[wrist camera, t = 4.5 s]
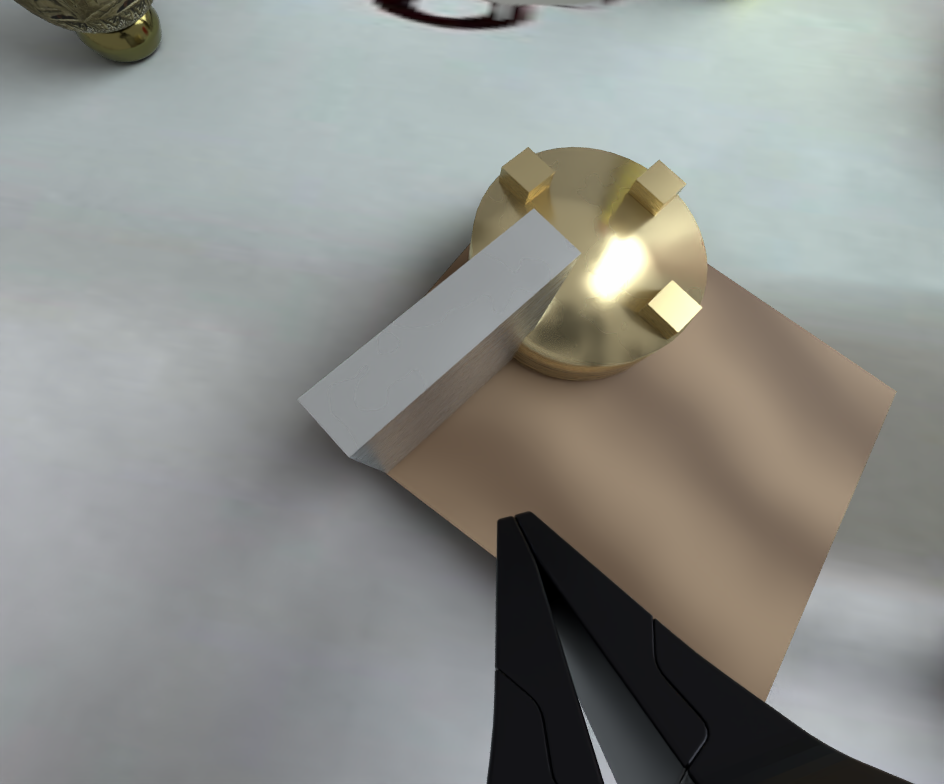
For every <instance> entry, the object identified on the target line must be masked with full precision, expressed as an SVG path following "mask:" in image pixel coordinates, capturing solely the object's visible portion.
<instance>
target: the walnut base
mask: <svg viewBox="0 0 944 784" xmlns="http://www.w3.org/2000/svg"><path fill="white" fill-rule="evenodd" d="M470 244H471V243H470ZM470 244H469V245H468V246H467V248H466V249H465V250H464V251H463V252H462V253H461V255H460V256H459V257H458V258H457V259H456V260H455V261H454V263H453V264H452V265H451V266H450V267H449V268H448V270H447V271H446V272H445V273H444V274H443V275H442V276H441V278H440V279H439V280H438V281H437V282H436V283H435V285H434V286H433V287H432V288H431V289H430V290H429V291H428V293H429V292H431V291H432V290H433V289H434V288H436V287H437V286H438V285H439V284H441V283H442V282H443V281H444V280H446V279H447V278H448V277H449V276H450V275H452V274H453V273H454V272H455V271H457V270H458V269H459V268H460V267H462V266H463V265H464V264H465V263H467V262H468V257H469V250H470ZM428 293H427V294H428ZM427 294H426V295H427ZM426 295H425V296H426ZM700 306H701V307H702V309H701V310H700V311H699V312H698V313H697V314H696V315H695V316H694V318H693V319H692V321H691V322H690V323H689V325H688V326H687V327H686V328H685V330H684V331H683V332H682V333H681V334H680V335H679V336H677V337H676V338H675V339H674V340H673V341H672V342H670V343H669V344H667V345H666V346H664V347H662V348H661V349H659V350H658V351H656V352H655V353H653V354H651V355H650V356H648V357H647V358H645V359H643V360H642V361H640V362H639V363H637V364H636V365H634V366H632V367H631V368H629V369H627V370H625V371H623V372H621V373H619V374H616V375H613V376H610V377H607V378H603V379H597V380H590V381H572V380H563V379H558V378H554V377H550V376H546V375H543V374H541V373H538V372H535V371H533V370H531V369H529V368H527V367H525V366H523V365H522V364H520V363H518V362H517V361H515V360H514V359H512V360H511V361H509V362H508V363H507V364H506V365H505V366H504V367H503V368H502V369H501V370H500V371H499V372H497V373H496V374H495V375H494V376H493V377H492V378H491V379H490V380H489V381H488V382H487V383H485V384H484V385H483V386H482V387H481V388H480V389H479V390H478V391H477V392H476V393H475V394H473V395H472V396H471V397H470V398H469V399H468V400H467V401H466V402H465V403H464V404H463V405H461V406H460V407H459V408H458V409H457V410H456V411H455V412H454V413H453V414H452V415H451V416H449V417H448V418H447V419H446V420H445V421H444V422H443V423H442V424H441V425H440V426H439V427H437V428H436V429H435V430H434V431H433V432H432V433H431V434H430V435H429V436H428V437H427V438H425V439H424V440H423V441H422V442H421V443H420V444H419V445H418V446H417V447H416V448H415V449H413V450H412V451H411V452H410V453H409V454H408V455H407V456H406V457H405V458H404V459H403V460H401V461H400V462H399V463H398V464H397V465H396V466H395V467H394V468H393V469H392V470H391V471H389V472H388V473H386V474H387V475H389V476H390V477H391V478H393V479H394V480H395V481H396V482H398V483H399V484H400V485H402V486H403V487H404V488H406V489H407V490H408V491H410V492H411V493H412V494H413V495H415V496H416V497H417V498H419V499H420V500H421V501H423V502H424V503H425V504H426V505H428V506H429V507H430V508H432V509H433V510H434V511H436V512H437V513H438V514H440V515H441V516H442V517H443V518H445V519H446V520H447V521H449V522H450V523H451V524H453V525H454V526H455V527H456V528H458V529H459V530H460V531H462V532H463V533H464V534H466V535H467V536H468V537H470V538H471V539H472V540H473V541H475V542H476V543H477V544H479V545H480V546H481V547H483V548H484V549H485V550H487V551H488V552H489V553H490V554H492V555H493V556H494V557H496V558H497V521H498V519H500V518H504V517H508V516H513V517H514V516H515V515H516V514H519V513H523V512H527V511H530V512H533V513H534V514H535V515H536V516H537V517H539V518H540V519H541V520H542V521H543V522H544V523H546V524H547V525H548V526H549V527H550V528H551V529H552V530H554V531H555V532H556V533H557V534H558V535H559V536H561V537H562V538H563V539H564V540H565V541H566V542H568V543H569V544H570V545H571V546H572V547H573V548H575V549H576V550H577V551H578V552H579V553H580V554H582V555H583V556H584V557H585V558H586V559H587V560H589V561H590V562H591V563H592V564H593V565H594V566H596V567H597V568H598V569H599V570H600V571H601V572H603V573H604V574H605V575H606V576H607V577H608V578H610V579H611V580H612V581H613V582H614V583H615V584H616V585H618V586H619V587H620V588H621V589H622V590H623V591H625V592H626V593H627V594H628V595H629V596H630V597H632V598H633V599H634V600H635V601H636V602H637V603H639V604H640V605H641V606H642V607H643V608H644V609H646V610H647V611H648V612H649V613H650V614H651V615H652V616H653V619H654V618H656V619H657V620H659V621H660V622H661V623H662V624H663V625H664V626H666V627H667V628H668V629H669V630H670V631H671V632H672V633H674V634H675V635H676V636H677V637H679V638H680V639H681V640H682V641H683V642H685V643H686V644H687V645H688V646H690V647H691V648H692V649H693V650H694V651H696V652H697V653H698V654H700V655H701V656H702V657H704V658H705V659H706V660H708V661H709V662H710V663H712V664H713V665H714V666H716V667H717V668H718V669H720V670H721V671H722V672H724V673H725V674H726V675H728V676H729V677H730V678H732V679H733V680H735V681H736V682H737V683H739V684H740V685H742V686H743V687H744V688H746V689H747V690H749V691H750V692H751V693H753V694H754V695H756V696H757V697H758V698H760V699H761V700H762V701H764V702H765V701H766V698H767V696H768V694H769V691H770V689H771V687H772V684H773V682H774V679H775V677H776V675H777V672H778V670H779V668H780V665H781V663H782V661H783V658H784V656H785V654H786V651H787V649H788V646H789V644H790V642H791V639H792V637H793V635H794V632H795V630H796V628H797V625H798V623H799V621H800V618H801V616H802V613H803V611H804V609H805V606H806V604H807V602H808V599H809V597H810V595H811V592H812V590H813V587H814V585H815V583H816V580H817V578H818V576H819V573H820V571H821V569H822V566H823V564H824V562H825V559H826V557H827V554H828V552H829V550H830V547H831V545H832V543H833V540H834V538H835V536H836V533H837V531H838V529H839V526H840V524H841V521H842V519H843V517H844V514H845V512H846V510H847V507H848V505H849V503H850V500H851V498H852V496H853V493H854V491H855V488H856V486H857V484H858V481H859V479H860V477H861V474H862V472H863V470H864V467H865V465H866V463H867V460H868V458H869V455H870V453H871V451H872V448H873V446H874V444H875V441H876V439H877V437H878V434H879V432H880V430H881V427H882V425H883V422H884V420H885V418H886V415H887V413H888V411H889V408H890V406H891V404H892V401H893V399H894V397H895V394H896V392H897V391H895V390H894V389H892V388H891V387H889V386H888V385H886V384H885V383H883V382H882V381H880V380H879V379H877V378H876V377H874V376H873V375H871V374H870V373H868V372H867V371H865V370H864V369H863V368H861V367H860V366H858V365H857V364H855V363H854V362H852V361H851V360H849V359H848V358H846V357H845V356H843V355H842V354H840V353H839V352H837V351H836V350H834V349H833V348H831V347H830V346H828V345H827V344H826V343H824V342H823V341H821V340H820V339H818V338H817V337H815V336H814V335H812V334H811V333H809V332H808V331H806V330H805V329H803V328H802V327H800V326H799V325H797V324H796V323H794V322H793V321H791V320H790V319H789V318H787V317H786V316H784V315H783V314H781V313H780V312H778V311H777V310H775V309H774V308H772V307H771V306H769V305H768V304H766V303H765V302H763V301H762V300H760V299H759V298H757V297H756V296H754V295H753V294H752V293H750V292H749V291H747V290H746V289H744V288H743V287H741V286H740V285H738V284H737V283H735V282H734V281H732V280H731V279H729V278H728V277H726V276H725V275H723V274H722V273H720V272H719V271H717V270H716V269H715V268H713V267H712V266H710V265H709V264H707V283H706V288H705V292H704V296H703V299H702V301H701V304H700Z"/></svg>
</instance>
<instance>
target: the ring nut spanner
mask: <svg viewBox="0 0 944 784" xmlns="http://www.w3.org/2000/svg"><path fill="white" fill-rule="evenodd" d="M685 185H686V183H685V182H684V181H683V180H681V179H680V178H679V177H678V176H677V175H676V174H675V173H674V172H672V171H671V170H670V169H669V168H668V167H667V166H666V165H664V164H663V163H662V162H661V161H660V160H658V161H657V162H656V163H655V164H654V165H652V166H651V167H650V168H649V169H647V168H645V167H643V166H642V165H640V164H638V163H636V162H634V161H632V160H630V159H628V158H625V157H622V156H620V155H617V154H614V153H611V152H607V151H603V150H598V149H591V148H581V147H567V148H556V149H551V150H546V151H542V152H539V153H536V154H535V153H534V152H533V151H532V150H531V149H530V148H529V147H528V148H526V149H525V150H524V151H522V152H521V153H520V154H518V155H517V156H516V157H514V158H513V159H512V160H510V161H509V162H508V163H506V164H505V165H504V166H502V168H501V173H500V175H499V176H498V177H497V178H496V180H495V181H494V182H493V183H492V184H491V186H490V187H489V188H488V190H487V191H486V193H485V195H484V196H483V198H482V200H481V202H480V205H479V207H478V209H477V212H476V216H475V220H474V224H473V231H472V237H471V244H470V250H469V257H468V262H467V263H465V264H464V265H463V266H462V267H460V268H459V269H458V270H457V271H455V272H454V273H453V274H452V275H450V276H449V277H448V278H447V279H446V280H444V281H443V282H442V283H441V284H439V285H438V286H437V287H436V288H434V289H433V290H432V291H431V292H429V293H428V294H427V295H426V296H424V297H423V298H422V299H421V300H419V301H418V302H417V303H416V304H415V305H413V306H412V307H411V308H410V309H408V310H407V311H406V312H405V313H403V314H402V315H401V316H400V317H398V318H397V319H396V320H395V321H393V322H392V323H391V324H390V325H388V326H387V327H386V328H385V329H383V330H382V331H381V332H380V333H379V334H377V335H376V336H375V337H374V338H372V339H371V340H370V341H369V342H367V343H366V344H365V345H364V346H362V347H361V348H360V349H359V350H357V351H356V352H355V353H354V354H352V355H351V356H350V357H349V358H348V359H346V360H345V361H344V362H343V363H341V364H340V365H339V366H338V367H336V368H335V369H334V370H333V371H331V372H330V373H329V374H328V375H326V376H325V377H324V378H323V379H321V380H320V381H319V382H318V383H316V384H315V385H314V386H313V387H312V388H310V389H309V390H308V391H307V392H305V393H304V394H303V395H302V396H300V397H299V398H298V399H297V400H298V401H299V402H300V403H301V405H302V406H303V407H304V408H305V409H306V410H307V411H308V412H309V413H310V415H311V416H312V417H313V418H314V419H315V420H316V421H317V422H318V424H319V425H320V426H321V427H322V428H323V429H324V430H325V431H326V432H327V434H328V435H329V436H330V437H331V438H332V439H333V440H334V441H335V443H336V444H337V445H338V446H339V447H340V448H341V449H342V450H343V451H344V453H345V454H346V455H347V456H348V457H349V458H351V459H354V460H356V461H358V462H361V463H363V464H365V465H368V466H370V467H373V468H375V469H377V470H380V471H382V472H384V473H388V472H389V471H391V470H392V469H393V468H394V467H395V466H396V465H397V464H398V463H399V462H400V461H401V460H403V459H404V458H405V457H406V456H407V455H408V454H409V453H410V452H411V451H412V450H413V449H415V448H416V447H417V446H418V445H419V444H420V443H421V442H422V441H423V440H424V439H425V438H427V437H428V436H429V435H430V434H431V433H432V432H433V431H434V430H435V429H436V428H437V427H439V426H440V425H441V424H442V423H443V422H444V421H445V420H446V419H447V418H448V417H449V416H451V415H452V414H453V413H454V412H455V411H456V410H457V409H458V408H459V407H460V406H461V405H463V404H464V403H465V402H466V401H467V400H468V399H469V398H470V397H471V396H472V395H473V394H475V393H476V392H477V391H478V390H479V389H480V388H481V387H482V386H483V385H484V384H485V383H487V382H488V381H489V380H490V379H491V378H492V377H493V376H494V375H495V374H496V373H497V372H499V371H500V370H501V369H502V368H503V367H504V366H505V365H506V364H507V363H508V362H509V361H511V360H512V359H514V360H515V361H517V362H518V363H520V364H522V365H523V366H525V367H527V368H529V369H531V370H533V371H535V372H538V373H541V374H543V375H546V376H550V377H554V378H558V379H563V380H572V381H590V380H597V379H603V378H607V377H610V376H613V375H616V374H619V373H621V372H623V371H625V370H627V369H629V368H631V367H632V366H634V365H636V364H637V363H639V362H640V361H642V360H643V359H645V358H647V357H648V356H650V355H651V354H653V353H655V352H656V351H658V350H659V349H661V348H662V347H664V346H666V345H667V344H669V343H670V342H672V341H673V340H674V339H675V338H676V337H677V336H679V335H680V334H681V333H682V332H683V331H684V330H685V328H686V327H687V326H688V325H689V323H690V322H691V321H692V319H693V318H694V316H695V315H696V314H697V313H698V312H699V311H700V310H701V309H702V307H701V306H700V304H701V301H702V299H703V296H704V292H705V288H706V283H707V255H706V251H705V246H704V241H703V239H702V236H701V233H700V230H699V227H698V225H697V223H696V221H695V219H694V217H693V215H692V214H691V212H690V211H689V209H688V208H687V206H686V205H685V203H684V202H683V201H682V200H681V198H680V197H679V196H678V194H679V192H680V191H681V190H682V189H683V188H684V186H685Z"/></svg>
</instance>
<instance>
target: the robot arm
mask: <svg viewBox="0 0 944 784" xmlns="http://www.w3.org/2000/svg"><path fill="white" fill-rule="evenodd" d="M495 670H496V671H495V693H494V716H493V730H492V740H491V750H490V760H489V768H488V776H487V784H604V781H603V778H602V775H601V772H600V768H599V765H598V762H597V759H596V755H595V752H594V749H593V745H592V742H591V739H590V736H589V732H588V729H587V726H586V723H585V719H584V716H583V713H582V709H581V706H580V703H581V705H582V707H583V710H584V712H585V714H586V716H587V718H588V721H589V723H590V725H591V727H592V729H593V732H594V734H595V736H596V738H597V740H598V743H599V745H600V747H601V749H602V751H603V754H604V756H605V758H606V760H607V762H608V765H609V767H610V769H611V771H612V773H613V776H614V778H615V780H616V782H617V784H913V783H911V782H909V781H906V780H904V779H901V778H899V777H897V776H894V775H892V774H889V773H887V772H885V771H882V770H880V769H877V768H875V767H873V766H870V765H868V764H865V763H863V762H861V761H858V760H856V759H854V758H852V757H849V756H847V755H845V754H843V753H841V752H839V751H837V750H836V749H834V748H832V747H830V746H829V745H827V744H825V743H823V742H822V741H820V740H818V739H817V738H815V737H814V736H812V735H810V734H809V733H807V732H806V731H805V730H803V729H802V728H800V727H799V726H797V725H796V724H795V723H793V722H792V721H790V720H789V719H788V718H786V717H785V716H783V715H782V714H781V713H779V712H778V711H776V710H775V709H774V708H772V707H771V706H769V705H768V704H767V703H765V702H764V701H762V700H761V699H760V698H758V697H757V696H756V695H754V694H753V693H751V692H750V691H749V690H747V689H746V688H744V687H743V686H742V685H740V684H739V683H737V682H736V681H735V680H733V679H732V678H730V677H729V676H728V675H726V674H725V673H724V672H722V671H721V670H720V669H718V668H717V667H716V666H714V665H713V664H712V663H710V662H709V661H708V660H706V659H705V658H704V657H702V656H701V655H700V654H698V653H697V652H696V651H694V650H693V649H692V648H691V647H690V646H688V645H687V644H686V643H685V642H683V641H682V640H681V639H680V638H679V637H677V636H676V635H675V634H674V633H672V632H671V631H670V630H669V629H668V628H667V627H666V626H664V625H663V624H662V623H661V622H660V621H659V620H657V619H656V618H654V619H653V616H652V615H651V614H650V613H649V612H648V611H647V610H646V609H644V608H643V607H642V606H641V605H640V604H639V603H637V602H636V601H635V600H634V599H633V598H632V597H630V596H629V595H628V594H627V593H626V592H625V591H623V590H622V589H621V588H620V587H619V586H618V585H616V584H615V583H614V582H613V581H612V580H611V579H610V578H608V577H607V576H606V575H605V574H604V573H603V572H601V571H600V570H599V569H598V568H597V567H596V566H594V565H593V564H592V563H591V562H590V561H589V560H587V559H586V558H585V557H584V556H583V555H582V554H580V553H579V552H578V551H577V550H576V549H575V548H573V547H572V546H571V545H570V544H569V543H568V542H566V541H565V540H564V539H563V538H562V537H561V536H559V535H558V534H557V533H556V532H555V531H554V530H552V529H551V528H550V527H549V526H548V525H547V524H546V523H544V522H543V521H542V520H541V519H540V518H539V517H537V516H536V515H535V514H534V513H533V512H530V511H527V512H523V513H519V514H516V515H515V516H514V517H513V516H508V517H504V518H500V519H498V521H497V558H496V633H495ZM578 699H579V700H578ZM579 701H580V703H579Z"/></svg>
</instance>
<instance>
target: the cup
mask: <svg viewBox="0 0 944 784" xmlns="http://www.w3.org/2000/svg"><path fill="white" fill-rule="evenodd" d="M14 1H16V2H17V3H19V4H20V5H21V6H23V7H24V8H26V9H27V10H29V11H30V12H31V13H33V14H35V15H37V16H38V17H40V18H42V19H44V20H46V21H48V22H50V23H52V24H54V25H57V26H60V27H62V28H65V29H68V30H72V31H75V32H76V34H77V35H78V37H79V38H80V40H81V41H82V42H83V43H84V44H85V45H87V46H88V47H89V48H90V49H92V50H93V51H95V52H96V53H97V54H99V55H101V56H102V57H104V58H107V59H109V60H112V61H117V62H133V61H137V60H141V59H143V58H145V57H147V56H149V55H150V54H152V53H153V52H154V51H155V50H156V49H157V47H158V46H159V44H160V41H161V37H162V32H161V26H160V21H159V17H158V15H157V13H156V11H155V9H154V8H153V7H152V6H151V4H152V2H153V0H14Z"/></svg>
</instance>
